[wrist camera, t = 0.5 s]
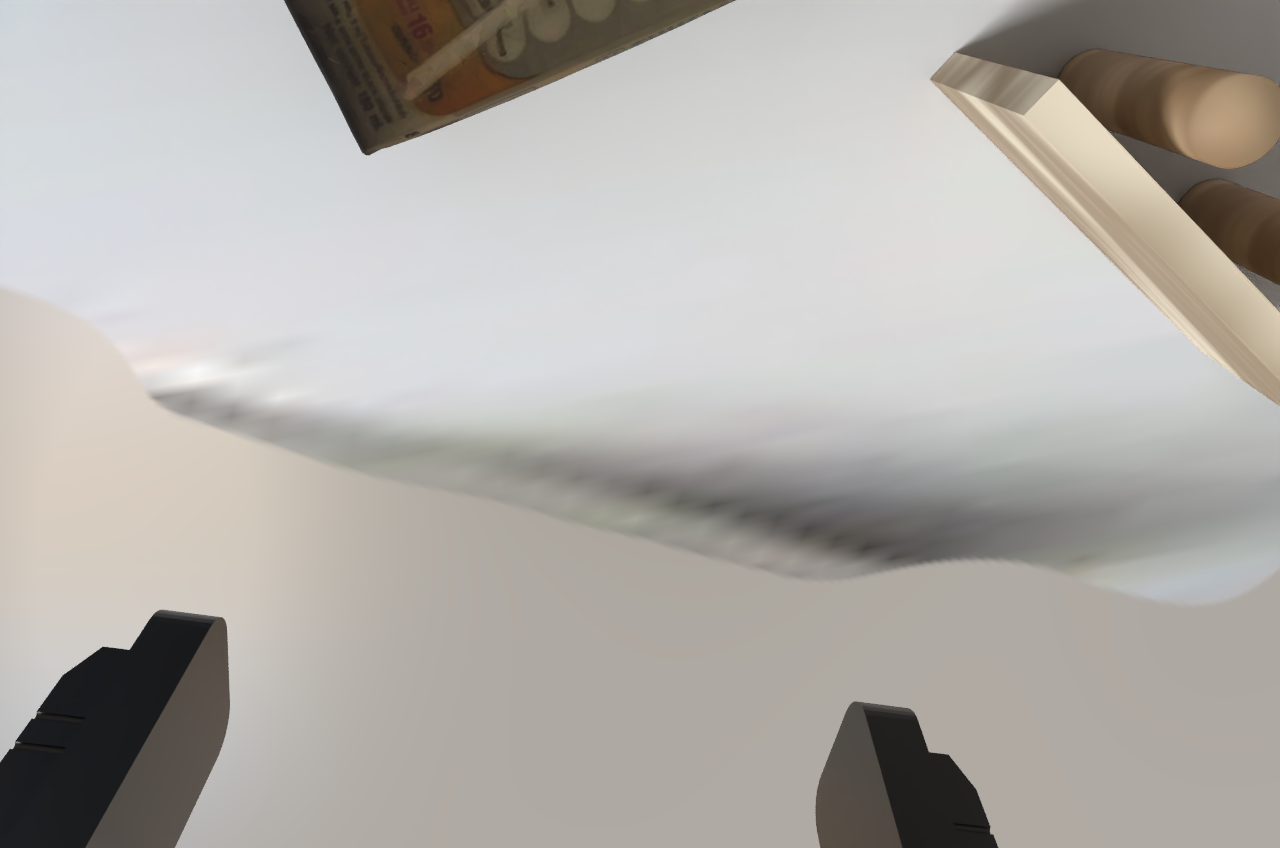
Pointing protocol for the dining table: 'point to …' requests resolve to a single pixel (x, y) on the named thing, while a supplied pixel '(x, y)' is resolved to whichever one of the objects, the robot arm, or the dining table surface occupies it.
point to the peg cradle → (1151, 183)
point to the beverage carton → (464, 53)
